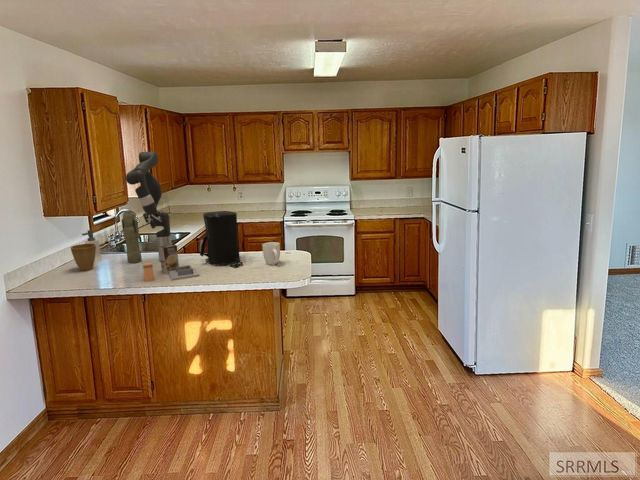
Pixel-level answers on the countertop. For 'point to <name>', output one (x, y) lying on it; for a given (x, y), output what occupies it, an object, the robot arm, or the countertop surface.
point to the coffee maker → (221, 239)
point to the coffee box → (169, 258)
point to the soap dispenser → (92, 241)
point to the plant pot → (84, 255)
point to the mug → (271, 252)
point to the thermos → (131, 237)
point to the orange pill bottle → (148, 271)
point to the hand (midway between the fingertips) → (159, 227)
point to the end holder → (183, 272)
